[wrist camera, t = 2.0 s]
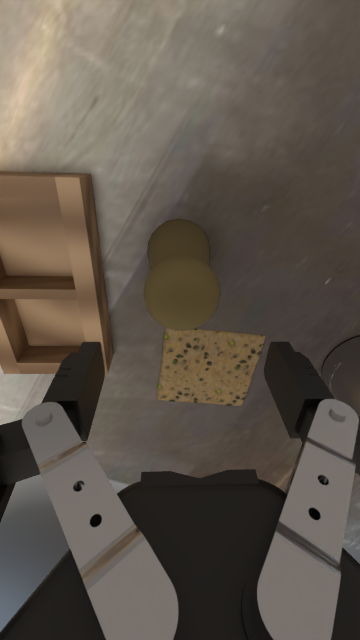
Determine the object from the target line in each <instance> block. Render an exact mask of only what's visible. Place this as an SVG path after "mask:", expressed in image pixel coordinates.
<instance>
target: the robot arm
mask: <svg viewBox="0 0 360 640" xmlns="http://www.w3.org/2000/svg"><path fill="white" fill-rule="evenodd" d="M264 375H265V379H266V382H267V384H268V386H269V389H270V391H271V393H272V396H273V398H274V401H275V403H276V405H277V408H278V410H279V412H280V415H281V417H282V420H283V422H284V424H285V427H286V429H287V431H288V434H289V436H290V438H301V441H302V443H303V444H302V446H301V449H300V451H299V454H298V457H297V460H296V462H295V465H294V468H293V471H292V473H291V476H290V479H289V482H288V484H287V487H286V489H285V492H284V491H282V490H281V489H279V488H278V487H276V486H274V485H272V484H270V483H268V482H266V481H263V480H260V479H258V478H257V474H256V471H255V469H251V470H226V471H223V472H220V473H216V474H213V475H210V476H206V477H203V478H195V477H191V476H187V475H183V474H179V473H175V472H171V471H163V472H142V473H141V481H140V482H137V483H134V484H132V485H130V486H128V487H126V488H125V489H123V490H121V491H120V492H119V493H117V494H116V492H115V490H114V489H113V487H112V485H111V483H110V482H109V480H108V478H107V477H106V475H105V473H104V472H103V470H102V468H101V466H100V465H99V463H98V461H97V460H96V458H95V456H94V455H93V453H92V451H91V449H90V448H89V446H88V445H87V443H86V442H82V441H87V440H88V436H89V432H90V429H91V425H92V421H93V418H94V414H95V411H96V407H97V403H98V400H99V396H100V392H101V389H102V385H103V381H104V376H105V367H104V360H103V354H102V347H101V343H100V342H83V343H82V344H81V347H80V349H79V351H78V353H70V354H69V355H68V356H67V357H66V358H64V359H63V360H62V363H61V365H60V367H59V370H58V371H57V373H56V375H55V377H54V379H53V381H52V383H51V385H50V387H49V389H48V391H47V393H46V395H45V397H44V399H43V401H42V403H41V404H39V405H37V406H35V407H33V408H32V409H30V410H29V411H28V412H27V413H26V414H25V416H24V418H23V419H21V420H18V421H14V422H11V423H7V424H3V425H0V522H1V519H2V517H3V514H4V511H5V509H6V506H7V504H8V501H9V498H10V496H11V494H12V491H13V488H14V486H15V483H16V482H18V481H21V480H23V479H27V478H29V477H32V476H36V475H39V474H41V476H42V478H43V481H44V484H45V486H46V489H47V491H48V494H49V496H50V498H51V501H52V504H53V506H54V508H55V511H56V514H57V516H58V519H59V521H60V524H61V526H62V529H63V531H64V534H65V536H66V539H67V542H68V544H69V547H70V549H69V550H68V551H67V552H66V554H65V555H64V556H63V557H62V558H61V560H60V561H59V562H58V563H57V564H56V566H55V567H54V568H53V569H52V570H51V572H50V573H49V574H48V575H47V576H46V578H45V579H44V580H43V581H42V583H41V584H40V585H39V586H38V587H37V589H36V590H35V591H34V592H33V593H32V595H31V596H30V597H29V598H28V599H27V601H26V602H25V603H24V604H23V605H22V607H21V608H20V609H19V611H18V612H17V613H16V614H15V615H14V617H13V618H12V619H11V620H10V621H9V622H8V624H7V625H6V626H5V627H4V628H3V630H2V631H1V632H0V640H360V564H359V563H358V562H357V561H356V560H355V559H354V558H353V557H352V556H351V555H350V554H349V553H347V551H346V550H345V549H344V548H343V547H342V546H343V540H344V534H345V528H346V522H347V515H348V509H349V503H350V497H351V491H352V485H353V479H354V473H359V475H360V336H359V337H356V338H353V339H351V340H349V341H346V342H344V343H343V344H341V345H340V346H338V347H337V348H336V349H335V350H334V351H333V352H331V354H330V355H329V356H328V357H327V359H326V361H325V363H324V365H323V369H322V376H323V379H324V381H325V383H326V384H327V386H328V387H329V389H330V390H331V392H332V393H333V395H334V396H335V398H336V399H337V400H335V398H334V397H333V395H332V394H331V392H330V391H329V389H328V388H327V386H326V385H325V383H324V382H323V380H322V379H321V377H320V376H319V375H318V373H317V371H316V370H315V369H314V367H313V365H312V364H311V362H310V361H309V359H308V358H306V357H305V356H304V355H302V354H301V353H300V352H295V351H294V349H293V348H292V346H291V345H290V343H289V342H271V343H270V346H269V350H268V354H267V358H266V362H265V367H264Z"/></svg>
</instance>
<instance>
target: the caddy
mask: <svg viewBox="0 0 360 640" xmlns="http://www.w3.org/2000/svg"><path fill="white" fill-rule="evenodd" d="M83 342H100V343H101V347H102V354H103V360H104V367H105V374H108V371H109V368H110V364H111V361H112V357H113V346H112V338H111V330H110V322H109V314H108V306H107V298H106V290H105V282H104V274H103V266H102V258H101V250H100V242H99V235H98V227H97V219H96V211H95V203H94V195H93V187H92V179H91V174H72V173H34V172H0V365H1V367H2V370H3V372H4V374H56V373H57V371H58V370H59V367H60V365H61V363H62V360H63V359H64V358H66V357H67V356H68V355H69V354H70V353H78V351H79V349H80V347H81V344H82V343H83Z"/></svg>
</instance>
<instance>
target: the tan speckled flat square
mask: <svg viewBox="0 0 360 640" xmlns="http://www.w3.org/2000/svg"><path fill="white" fill-rule="evenodd" d="M265 338H266V336H265V335H256V334H247V333H238V332H223V331H214V330H204V329H192V330H186V331H178V330H172V329H169V328H167V327H166V332H165V334H164V343H163V355H162V360H161V369H160V377H159V384H158V393H157V399H159V400H169V401H171V402H173V401H179V402H183V401H184V402H195V403H214V404H225V405H227V406H230V405H235V406H240V405H242V403H243V401H244V400H245V399H246V397H245V396H246V394H247V390H248V387H249V385H250V382H251V378H252V375H253V371H254V369H255V366H256V364H257V362H258V359H259V357H260V355H261V354H262V347H263V346H264V344H263V343H264V340H265Z"/></svg>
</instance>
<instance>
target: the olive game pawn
mask: <svg viewBox="0 0 360 640" xmlns="http://www.w3.org/2000/svg"><path fill="white" fill-rule="evenodd" d="M148 258H149V263H150V268H151V272H150V273H149V275H148V278H147V280H146V282H145V287H144V300H145V303H146V307H147V310H148V312H149V313H150V315H151V316H152V317H153V319H154V320H156V321H157V322H158V323H159V324H161V325H162V326H164V327H167V328H169V329H172V330H178V331H186V330H192V329H195V328H197V327H199V326H202V325H203V324H205V323H206V322H207V321H208V320H209V319H210V318H212V316H213V315H214V313H215V311H216V310H217V308H218V304H219V300H220V285H219V282H218V279H217V277H216V275H215V273H214V271H213V270H212V269H211V268H210V267H209V266H210V247H209V241H208V239H207V237H206V234H205V232H204V231H203V230H202V229H201V228H200V227H199V226H198V225H196V224H194V223H192V222H190V221H188V220H181V219H176V220H171V221H167V222H165V223H164V224H162V225H160V226H159V227H158V228H157V229H156V230H155V231H154V232H153V233H152V235H151V238H150V240H149V242H148Z"/></svg>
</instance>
